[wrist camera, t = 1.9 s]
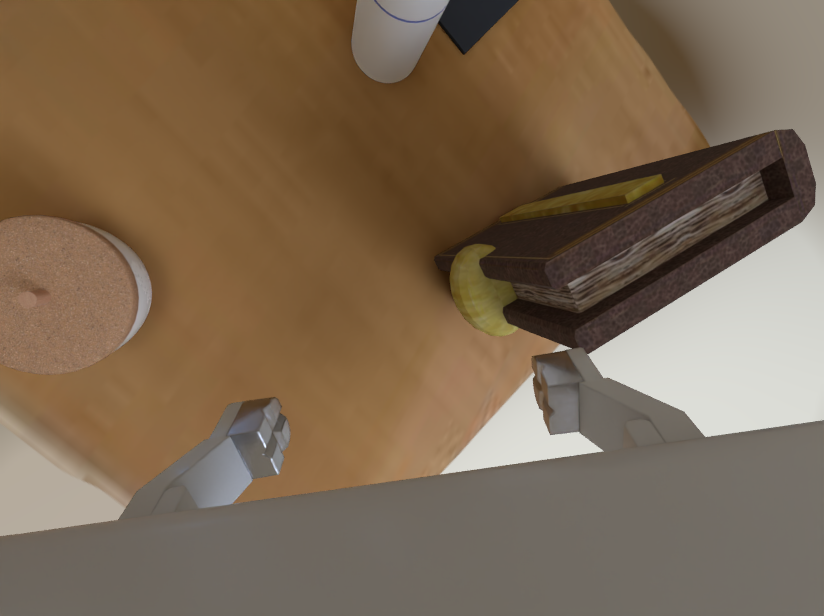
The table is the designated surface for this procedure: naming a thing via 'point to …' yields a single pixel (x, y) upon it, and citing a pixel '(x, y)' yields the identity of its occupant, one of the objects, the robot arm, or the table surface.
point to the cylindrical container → (393, 35)
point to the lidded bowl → (66, 294)
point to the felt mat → (471, 19)
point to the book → (628, 240)
